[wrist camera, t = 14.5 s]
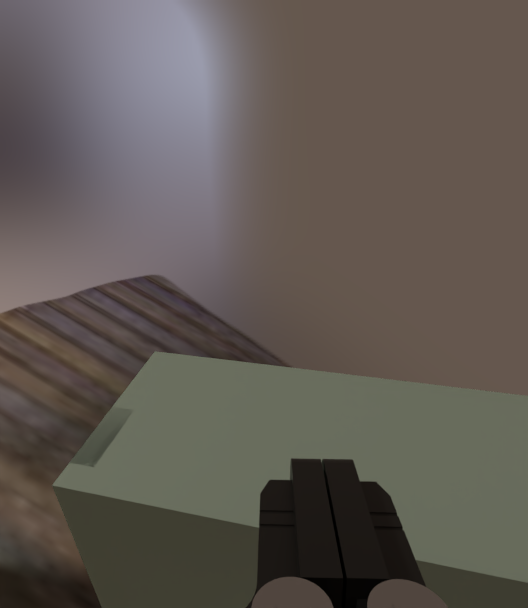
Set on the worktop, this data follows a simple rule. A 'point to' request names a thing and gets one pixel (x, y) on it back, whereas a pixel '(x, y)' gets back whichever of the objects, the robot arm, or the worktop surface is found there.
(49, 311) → the worktop surface
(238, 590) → the block
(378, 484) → the robot arm
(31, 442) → the worktop surface
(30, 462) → the worktop surface
